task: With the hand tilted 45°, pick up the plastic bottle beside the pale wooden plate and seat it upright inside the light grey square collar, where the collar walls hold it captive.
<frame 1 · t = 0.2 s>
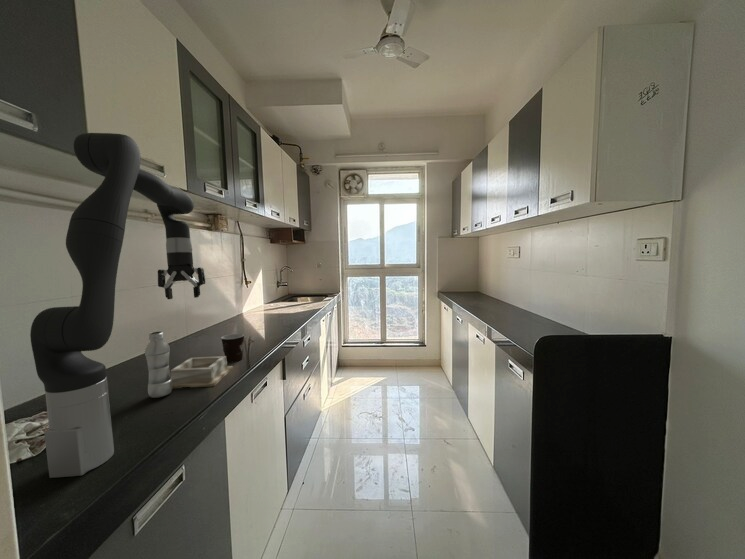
hand: (183, 298, 105), 29 cm above the worktop, tool pointing down, fingers open, 8 cm apart
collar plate: (201, 377, 108), on the worktop
coffee mug: (231, 361, 125), on the worktop
plastic bottle: (161, 396, 95), on the worktop
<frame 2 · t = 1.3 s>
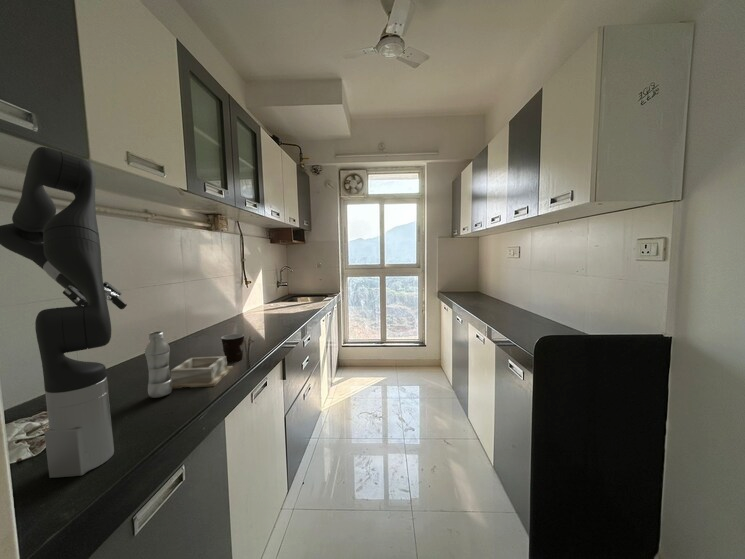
hand: (114, 309, 92), 28 cm above the worktop, tool tilted 45°, fingers open, 8 cm apart
nothing on the worktop moved.
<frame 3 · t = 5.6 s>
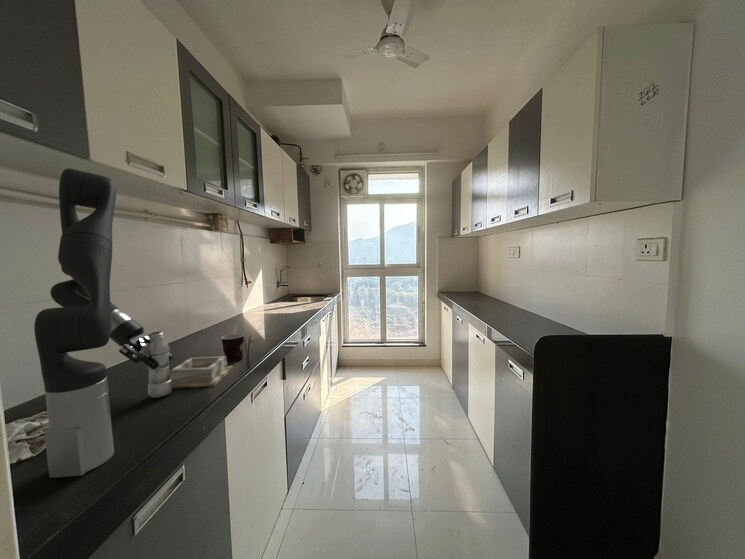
hand: (164, 363, 94), 10 cm above the worktop, tool tilted 45°, fingers closed on plastic bottle, 6 cm apart
plastic bottle: (161, 396, 95), on the worktop, touching gripper
everything else where it was.
when the fingers open (13 cm above the worktop, at t = 12.5 s): plastic bottle drops 1 cm, resting on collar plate.
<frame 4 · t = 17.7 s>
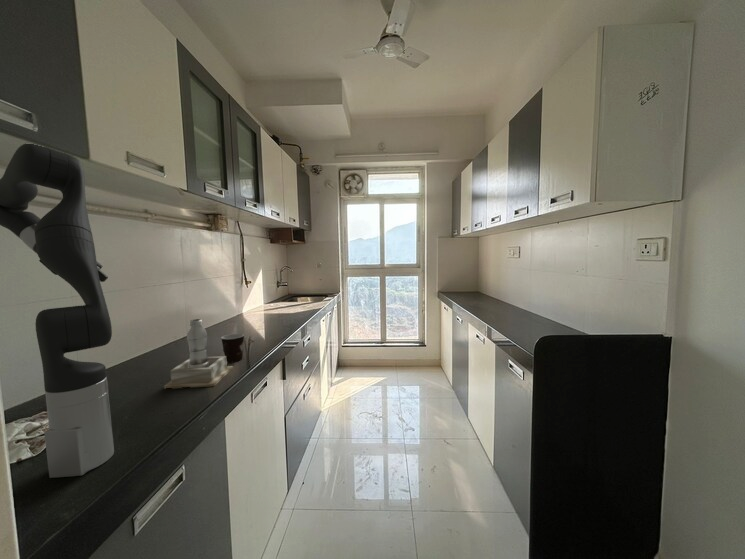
hand: (93, 280, 90), 37 cm above the worktop, tool tilted 45°, fingers open, 8 cm apart
plastic bottle: (199, 376, 108), point 1 cm above the worktop, touching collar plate
everything else where it was.
at the end: plastic bottle 0.4 cm off-centre on the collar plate, point 0.8 cm above the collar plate's base; plastic bottle tilted 0°; the gripper is holding nothing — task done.
